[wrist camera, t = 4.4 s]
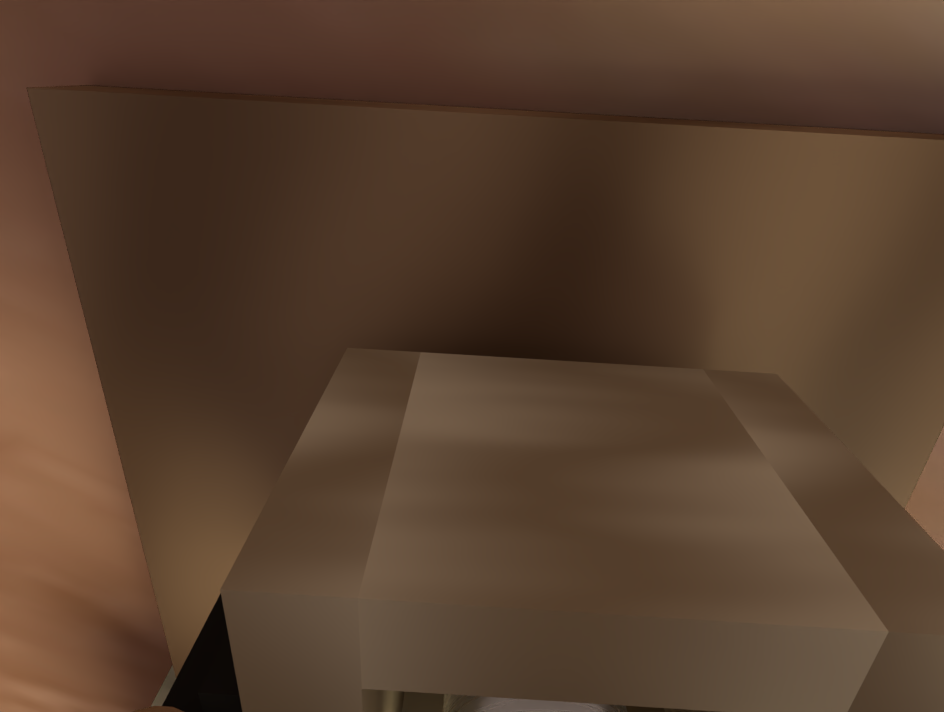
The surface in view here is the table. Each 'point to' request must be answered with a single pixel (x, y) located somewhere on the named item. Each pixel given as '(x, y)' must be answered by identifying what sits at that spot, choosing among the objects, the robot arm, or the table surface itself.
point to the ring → (579, 548)
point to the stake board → (469, 274)
